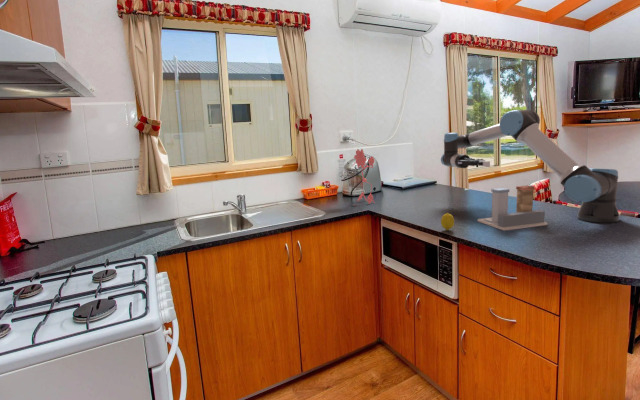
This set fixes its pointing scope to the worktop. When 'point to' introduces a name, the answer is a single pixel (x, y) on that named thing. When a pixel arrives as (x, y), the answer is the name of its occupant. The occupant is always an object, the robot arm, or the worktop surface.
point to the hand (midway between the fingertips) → (488, 164)
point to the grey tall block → (499, 203)
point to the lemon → (447, 221)
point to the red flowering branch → (361, 162)
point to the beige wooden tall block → (524, 198)
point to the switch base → (517, 220)
